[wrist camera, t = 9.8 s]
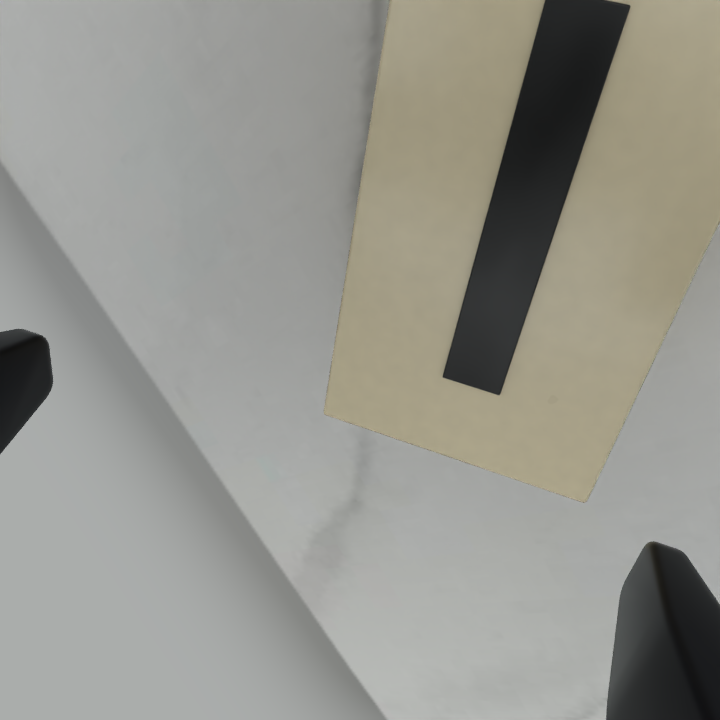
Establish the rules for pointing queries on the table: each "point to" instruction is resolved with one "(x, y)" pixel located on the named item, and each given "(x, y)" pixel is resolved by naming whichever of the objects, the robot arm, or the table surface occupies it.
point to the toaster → (526, 225)
